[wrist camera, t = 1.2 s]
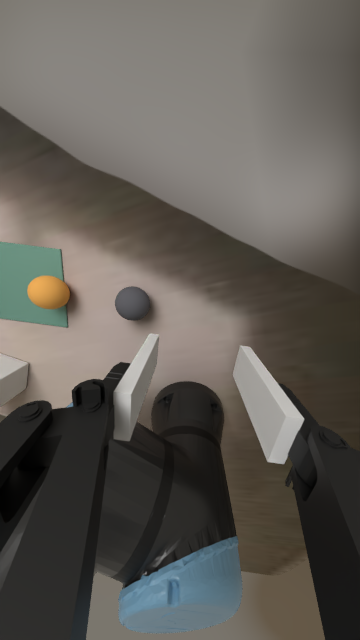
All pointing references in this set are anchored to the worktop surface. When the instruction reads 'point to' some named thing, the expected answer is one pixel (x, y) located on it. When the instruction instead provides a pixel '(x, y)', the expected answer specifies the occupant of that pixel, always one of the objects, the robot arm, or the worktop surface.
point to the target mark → (28, 282)
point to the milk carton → (12, 377)
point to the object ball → (48, 292)
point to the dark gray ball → (132, 303)
